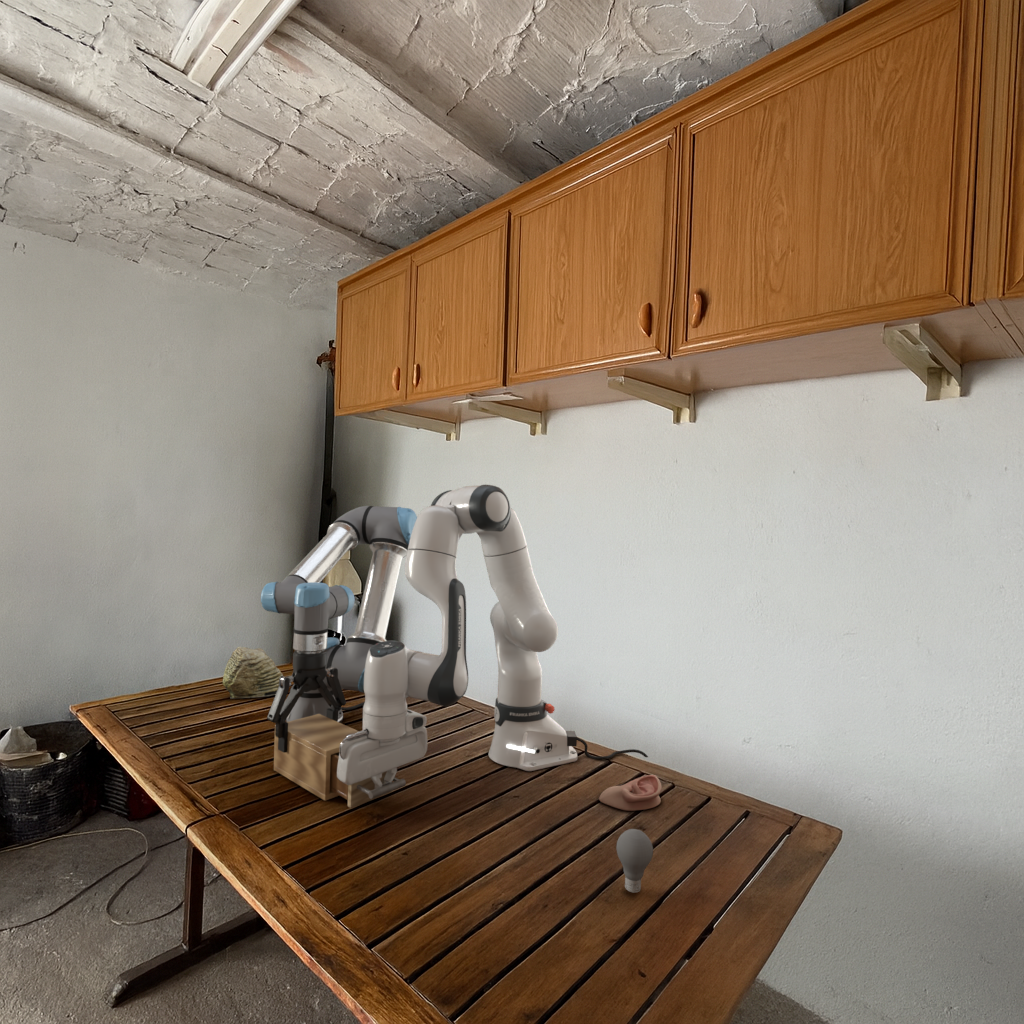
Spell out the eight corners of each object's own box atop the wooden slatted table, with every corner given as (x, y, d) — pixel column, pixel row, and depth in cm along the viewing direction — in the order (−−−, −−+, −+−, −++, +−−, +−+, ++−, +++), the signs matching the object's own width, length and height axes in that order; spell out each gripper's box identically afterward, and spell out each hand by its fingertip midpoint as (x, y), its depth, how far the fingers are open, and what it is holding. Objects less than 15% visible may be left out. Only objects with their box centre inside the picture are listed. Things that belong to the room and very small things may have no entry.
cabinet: (370, 783, 140) (372, 736, 140) (325, 800, 131) (326, 751, 131) (318, 756, 154) (319, 713, 154) (273, 769, 146) (274, 724, 145)
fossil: (218, 695, 195) (220, 647, 195) (278, 685, 208) (279, 640, 207) (228, 703, 189) (230, 653, 188) (289, 692, 201) (290, 645, 201)
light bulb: (610, 879, 108) (613, 822, 108) (644, 879, 109) (647, 822, 109) (619, 902, 102) (622, 840, 102) (655, 901, 103) (658, 840, 103)
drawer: (409, 800, 130) (410, 760, 130) (367, 818, 123) (369, 775, 123) (338, 764, 147) (339, 728, 147) (298, 777, 140) (299, 740, 140)
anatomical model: (598, 788, 134) (602, 766, 145) (597, 806, 134) (601, 783, 146) (662, 796, 132) (661, 774, 143) (662, 815, 132) (660, 791, 143)
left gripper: (269, 661, 135) (266, 762, 135) (363, 645, 153) (359, 735, 153) (252, 655, 140) (249, 752, 140) (345, 640, 158) (342, 726, 158)
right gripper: (350, 741, 118) (348, 815, 118) (432, 715, 133) (431, 780, 134) (331, 732, 122) (329, 803, 123) (413, 708, 138) (411, 771, 138)
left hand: (307, 743), depth 147 cm, fingers closed on cabinet, 11 cm apart
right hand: (383, 791), depth 128 cm, fingers closed, pressing on drawer
